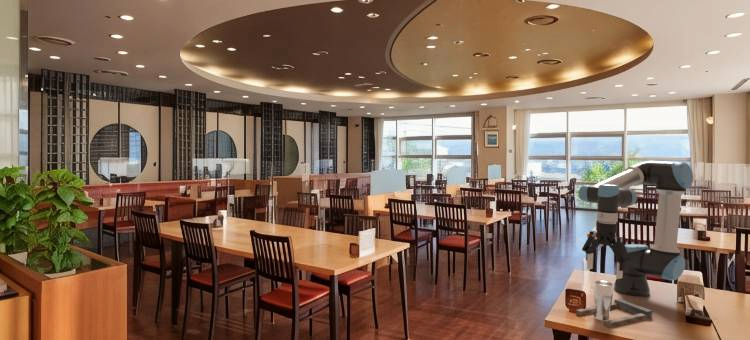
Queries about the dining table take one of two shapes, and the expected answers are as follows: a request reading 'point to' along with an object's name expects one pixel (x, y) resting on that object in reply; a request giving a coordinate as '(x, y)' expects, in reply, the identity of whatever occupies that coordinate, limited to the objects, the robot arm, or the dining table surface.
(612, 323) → the guide track
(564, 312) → the dining table surface
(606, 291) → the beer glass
